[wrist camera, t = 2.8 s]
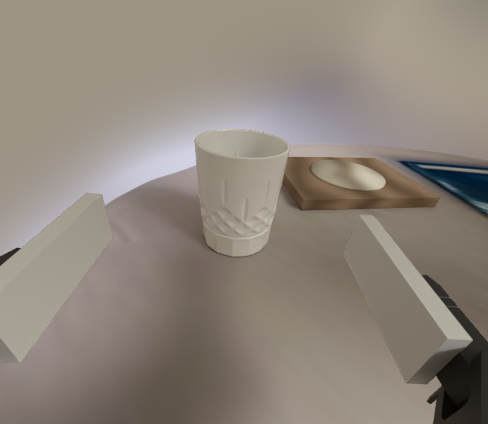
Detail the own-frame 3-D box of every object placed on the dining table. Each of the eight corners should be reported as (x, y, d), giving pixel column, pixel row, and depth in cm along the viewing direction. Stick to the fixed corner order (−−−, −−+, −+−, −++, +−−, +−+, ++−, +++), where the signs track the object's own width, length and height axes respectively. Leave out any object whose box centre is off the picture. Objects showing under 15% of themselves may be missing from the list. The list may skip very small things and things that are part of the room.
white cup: (273, 267, 22) (293, 163, 17) (188, 257, 23) (181, 151, 17) (272, 219, 29) (287, 133, 24) (207, 211, 29) (206, 125, 24)
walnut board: (371, 165, 47) (375, 156, 46) (434, 206, 35) (441, 195, 34) (271, 164, 43) (272, 155, 42) (301, 210, 31) (304, 197, 30)
